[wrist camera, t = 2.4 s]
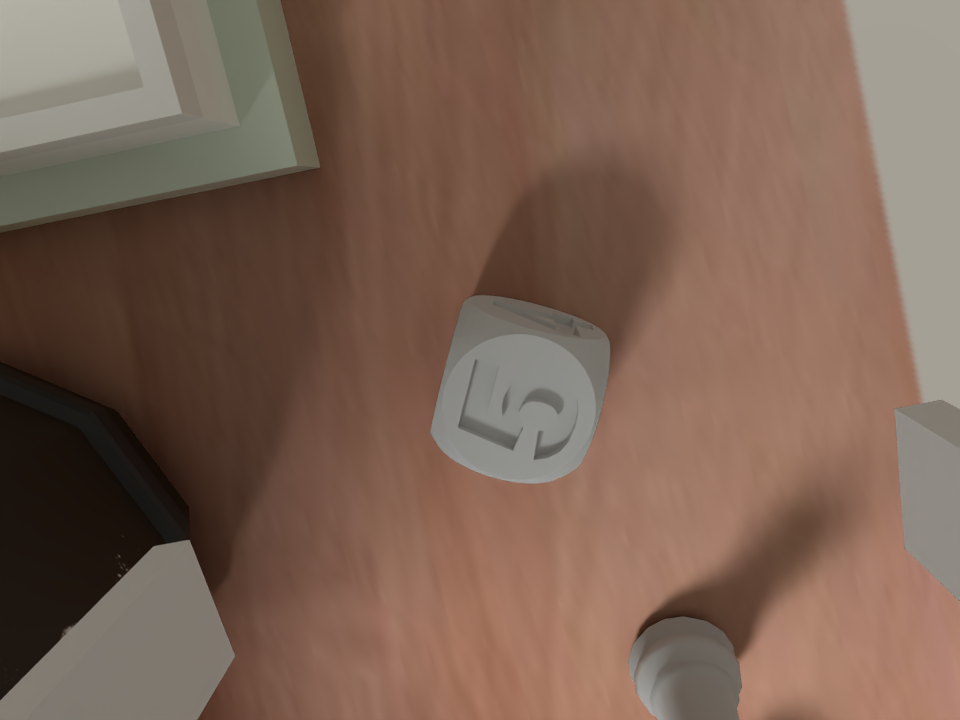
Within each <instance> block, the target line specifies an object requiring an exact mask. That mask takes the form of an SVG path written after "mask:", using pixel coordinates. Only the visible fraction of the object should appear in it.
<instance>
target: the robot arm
mask: <svg viewBox="0 0 960 720" xmlns="http://www.w3.org/2000/svg"><path fill="white" fill-rule="evenodd" d="M895 422H896V436H897V450H898V464H899V478H900V492H901V506H902V520H903V534H904V548H905V549H906V550H907V551H908V552H909V553H910V554H911V555H912V556H913V557H914V558H915V559H916V560H917V561H918V562H919V563H920V564H921V565H922V566H923V567H924V568H925V569H926V570H927V571H928V572H930V573H931V574H932V575H933V576H934V577H935V578H936V579H937V580H938V581H939V582H940V583H941V584H942V585H943V586H944V587H945V588H946V589H947V590H948V591H949V592H950V593H951V594H952V595H953V596H954V597H955V598H956V599H958V600H959V601H960V409H958V408H956V407H954V406H953V405H951V404H949V403H947V402H945V401H943V400H938V401H933V402H928V403H922V404H917V405H911V406H906V407H901V408H895ZM234 657H235V655H234V652H233V649H232V647H231V644H230V642H229V639H228V637H227V634H226V632H225V629H224V626H223V624H222V621H221V619H220V616H219V614H218V611H217V609H216V606H215V604H214V601H213V598H212V596H211V593H210V591H209V588H208V586H207V583H206V581H205V578H204V575H203V573H202V570H201V568H200V565H199V563H198V560H197V558H196V555H195V552H194V550H193V547H192V545H191V542H190V540H185V541H180V542H174V543H169V544H164V545H158V546H154V547H153V548H152V549H151V550H150V551H149V552H148V553H147V554H146V555H145V556H144V557H143V558H142V559H141V560H140V561H139V562H138V563H137V564H136V565H135V566H134V567H133V568H132V569H131V570H130V571H129V572H128V573H127V574H126V575H125V576H124V577H123V578H122V579H121V580H120V581H119V582H118V583H117V584H116V585H115V586H114V587H113V588H112V589H111V590H110V591H109V592H108V593H107V594H106V595H105V596H104V597H103V598H102V599H101V600H100V601H99V602H98V603H97V604H96V605H95V606H94V607H93V608H92V609H91V610H90V611H89V612H88V613H87V614H86V615H85V616H84V617H83V618H82V619H81V620H80V621H79V622H78V623H77V624H76V625H75V626H74V627H73V628H72V629H71V630H70V631H69V632H68V633H67V634H66V635H65V636H64V637H63V638H62V639H61V640H60V641H59V642H58V643H57V644H56V645H55V646H54V647H53V648H52V649H51V650H50V651H49V652H48V653H47V654H46V655H45V656H44V657H43V658H42V659H41V660H40V661H39V662H38V663H37V664H36V665H35V666H34V667H33V668H32V669H31V670H30V671H29V672H28V673H27V674H26V675H25V676H24V677H23V678H22V679H21V680H20V681H19V682H18V683H17V684H16V685H15V686H14V687H13V688H12V689H11V690H10V691H9V692H8V693H7V694H6V695H5V696H4V697H3V698H2V699H1V700H0V720H198V718H199V716H200V714H201V713H202V711H203V709H204V708H205V706H206V704H207V703H208V701H209V699H210V698H211V696H212V694H213V693H214V691H215V689H216V688H217V686H218V684H219V683H220V681H221V679H222V678H223V676H224V674H225V673H226V671H227V669H228V667H229V666H230V664H231V662H232V661H233V659H234Z"/></svg>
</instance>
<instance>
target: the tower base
mask: <svg viewBox="0 0 960 720" xmlns="http://www.w3.org/2000/svg"><path fill="white" fill-rule="evenodd" d="M316 168H321V167H320V163H319V159H318V155H317V150H316V146H315V142H314V138H313V134H312V130H311V125H310V121H309V117H308V113H307V109H306V105H305V100H304V96H303V92H302V88H301V84H300V80H299V75H298V71H297V67H296V63H295V59H294V55H293V50H292V46H291V42H290V38H289V34H288V30H287V25H286V21H285V17H284V13H283V9H282V5H281V0H0V233H1V232H6V231H11V230H16V229H21V228H26V227H31V226H36V225H41V224H45V223H50V222H55V221H60V220H65V219H70V218H75V217H80V216H85V215H90V214H95V213H100V212H105V211H110V210H114V209H119V208H124V207H129V206H134V205H139V204H144V203H149V202H154V201H159V200H164V199H169V198H174V197H178V196H183V195H188V194H193V193H198V192H203V191H208V190H213V189H218V188H223V187H228V186H233V185H238V184H243V183H247V182H252V181H257V180H262V179H267V178H272V177H277V176H282V175H287V174H292V173H297V172H302V171H307V170H312V169H316Z"/></svg>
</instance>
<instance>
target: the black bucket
mask: <svg viewBox="0 0 960 720" xmlns="http://www.w3.org/2000/svg"><path fill="white" fill-rule="evenodd" d="M185 540H190V534H189V507H188V505H187V504H186V503H185V501H184V500H183V499H182V497H181V496H180V495H179V493H178V492H177V491H176V489H175V488H174V487H173V485H172V484H171V483H170V481H169V480H168V479H167V477H166V476H165V475H164V473H163V472H162V471H161V469H160V468H159V467H158V465H157V464H156V463H155V461H154V460H153V459H152V457H151V456H150V454H149V453H148V452H147V450H146V449H145V448H144V446H143V445H142V444H141V442H140V441H139V440H138V438H137V437H136V436H135V434H134V433H133V432H132V430H131V429H130V428H129V426H128V425H127V424H126V422H125V421H124V420H123V418H122V417H121V416H120V414H119V413H118V412H117V411H116V410H114V409H111V408H109V407H106V406H104V405H102V404H99V403H97V402H94V401H92V400H90V399H87V398H85V397H83V396H80V395H78V394H75V393H73V392H71V391H68V390H66V389H63V388H61V387H59V386H56V385H54V384H52V383H49V382H47V381H44V380H42V379H40V378H37V377H35V376H32V375H30V374H28V373H25V372H23V371H20V370H18V369H16V368H13V367H11V366H9V365H6V364H4V363H1V362H0V700H1V699H2V698H3V697H4V696H5V695H6V694H7V693H8V692H9V691H10V690H11V689H12V688H13V687H14V686H15V685H16V684H17V683H18V682H19V681H20V680H21V679H22V678H23V677H24V676H25V675H26V674H27V673H28V672H29V671H30V670H31V669H32V668H33V667H34V666H35V665H36V664H37V663H38V662H39V661H40V660H41V659H42V658H43V657H44V656H45V655H46V654H47V653H48V652H49V651H50V650H51V649H52V648H53V647H54V646H55V645H56V644H57V643H58V642H59V641H60V640H61V639H62V638H63V637H64V636H65V635H66V634H67V633H68V632H69V631H70V630H71V629H72V628H73V627H74V626H75V625H76V624H77V623H78V622H79V621H80V620H81V619H82V618H83V617H84V616H85V615H86V614H87V613H88V612H89V611H90V610H91V609H92V608H93V607H94V606H95V605H96V604H97V603H98V602H99V601H100V600H101V599H102V598H103V597H104V596H105V595H106V594H107V593H108V592H109V591H110V590H111V589H112V588H113V587H114V586H115V585H116V584H117V583H118V582H119V581H120V580H121V579H122V578H123V577H124V576H125V575H126V574H127V573H128V572H129V571H130V570H131V569H132V568H133V567H134V566H135V565H136V564H137V563H138V562H139V561H140V560H141V559H142V558H143V557H144V556H145V555H146V554H147V553H148V552H149V551H150V550H151V549H152V548H153V547H154V546H158V545H164V544H169V543H174V542H180V541H185Z"/></svg>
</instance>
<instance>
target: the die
mask: <svg viewBox="0 0 960 720" xmlns="http://www.w3.org/2000/svg"><path fill="white" fill-rule="evenodd" d="M609 366H610V343H609V339H608V337H607V336H606V334H605V332H604V331H603V330H601V329H600V328H598V327H597V326H595V325H593V324H591V323H589V322H587V321H585V320H583V319H580V318H578V317H575V316H573V315H570V314H567V313H564V312H562V311H558V310H555V309H552V308H549V307H545V306H542V305H538V304H534V303H530V302H526V301H521V300H516V299H511V298H505V297H498V296H488V295H477V296H472V297H470V298H468V299H466V300H465V301H464V302H463V305H462V308H461V311H460V314H459V318H458V321H457V325H456V328H455V332H454V336H453V339H452V343H451V347H450V351H449V354H448V358H447V362H446V366H445V370H444V374H443V378H442V382H441V386H440V390H439V395H438V399H437V403H436V407H435V412H434V416H433V421H432V426H431V433H430V434H431V435H432V437H433V439H434V440H435V442H436V443H437V445H438V446H439V448H440V449H441V450H442V451H443V452H444V453H445V454H446V455H447V456H449V457H450V458H451V459H453V460H454V461H456V462H457V463H459V464H461V465H463V466H465V467H467V468H469V469H471V470H473V471H476V472H478V473H481V474H484V475H486V476H490V477H493V478H497V479H501V480H505V481H510V482H517V483H530V484H535V483H546V482H550V481H553V480H556V479H558V478H560V477H562V476H565V475H567V474H568V473H570V472H572V471H573V470H575V469H576V468H578V467H579V465H580V464H581V462H582V461H583V459H584V457H585V455H586V453H587V451H588V449H589V446H590V444H591V441H592V439H593V436H594V433H595V430H596V427H597V424H598V420H599V417H600V413H601V409H602V405H603V401H604V397H605V392H606V387H607V381H608V374H609Z"/></svg>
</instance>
